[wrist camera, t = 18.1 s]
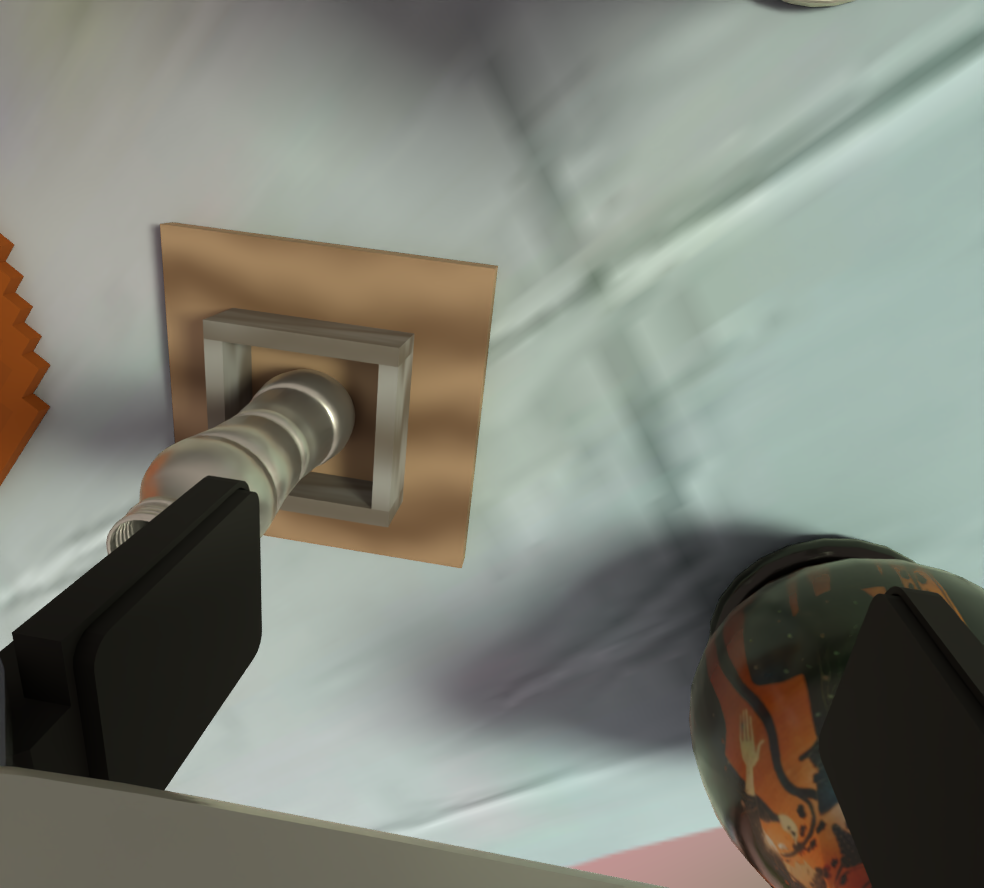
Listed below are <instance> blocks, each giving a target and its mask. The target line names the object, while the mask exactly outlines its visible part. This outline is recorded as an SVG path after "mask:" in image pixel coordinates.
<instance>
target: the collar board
mask: <svg viewBox="0 0 984 888" xmlns="http://www.w3.org/2000/svg"><path fill="white" fill-rule="evenodd" d="M160 231H161V246H162V261H163V275H164V290H165V304H166V319H167V334H168V348H169V363H170V377H171V392H172V407H173V421H174V436H175V443H177V442H179V441H182V440H184V439H186V438H189V437H191V436H194V435H196V434H199V433H201V432H204V431H207V430H209V429H212V428H214V427H216V426H218V425H219V424H221V423H223V422H225V421H227V420H229V419H230V418H232V417H233V416H235V415H237V414H238V413H239V412H240V411H241V410H242V409H243V408H244V407H245V406H246V405H248V404H249V403H250V402H251V400H252V398H253V397H254V396H255V394H256V393H257V392H258V391H259V390H260V389H261V388H262V387H263V385H264V384H265V383H266V382H268V381H269V380H270V379H272V378H273V377H275V376H277V375H279V374H282V373H285V372H289V371H293V370H298V369H312V370H317V371H320V372H323V373H326V374H328V375H329V376H331V377H333V378H334V379H336V380H337V381H338V382H339V383H340V384H341V385H342V386H343V387H344V388H345V389H346V391H347V392H348V394H349V396H350V397H351V399H352V402H353V405H354V409H355V424H354V427H353V430H352V433H351V435H350V438H349V440H348V442H347V443H346V445H345V447H344V448H343V449H342V450H341V451H340V452H339V453H338V454H337V455H335V456H334V457H332V458H331V459H329V460H328V461H326V462H325V463H324V464H322V465H319V466H317V467H315V468H314V469H313V470H312V471H310V472H309V473H308V474H307V475H305V476H304V477H303V478H301V479H300V481H299V482H298V483H297V484H296V485H295V487H294V488H293V490H292V491H291V492H290V493H289V495H288V496H287V497H286V498H285V500H284V502H283V503H282V505H281V507H280V509H279V510H278V512H277V514H276V516H275V517H274V519H273V521H272V523H271V525H270V526H269V528H268V529H267V530H266V532H265V533H264V535H265V536H271V537H277V538H283V539H289V540H295V541H301V542H307V543H313V544H319V545H325V546H331V547H337V548H343V549H349V550H355V551H361V552H367V553H373V554H379V555H385V556H391V557H397V558H403V559H409V560H415V561H421V562H427V563H433V564H439V565H445V566H451V567H457V568H462V565H463V561H464V558H465V550H466V541H467V532H468V524H469V515H470V506H471V497H472V488H473V480H474V471H475V462H476V453H477V444H478V436H479V427H480V418H481V409H482V400H483V392H484V383H485V374H486V365H487V356H488V348H489V339H490V330H491V321H492V313H493V304H494V295H495V286H496V277H497V269H498V266H495V265H487V264H480V263H472V262H465V261H458V260H450V259H443V258H435V257H428V256H420V255H413V254H405V253H398V252H390V251H383V250H375V249H368V248H360V247H353V246H345V245H338V244H330V243H323V242H315V241H308V240H301V239H293V238H286V237H278V236H271V235H263V234H256V233H248V232H241V231H233V230H226V229H218V228H211V227H203V226H196V225H188V224H181V223H173V222H172V223H164V224H160Z"/></svg>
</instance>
